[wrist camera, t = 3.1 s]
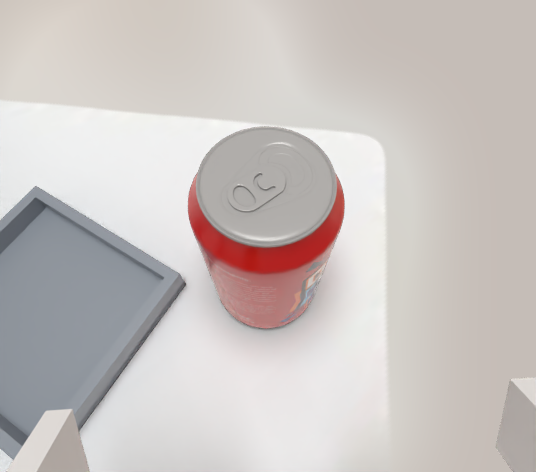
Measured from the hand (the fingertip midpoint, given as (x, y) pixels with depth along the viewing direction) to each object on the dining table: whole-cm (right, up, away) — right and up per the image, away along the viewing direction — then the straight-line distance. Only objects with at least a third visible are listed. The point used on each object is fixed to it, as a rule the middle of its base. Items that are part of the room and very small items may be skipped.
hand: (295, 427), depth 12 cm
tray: (-18, 0, +18) cm, 25 cm away
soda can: (-1, +2, +19) cm, 20 cm away
